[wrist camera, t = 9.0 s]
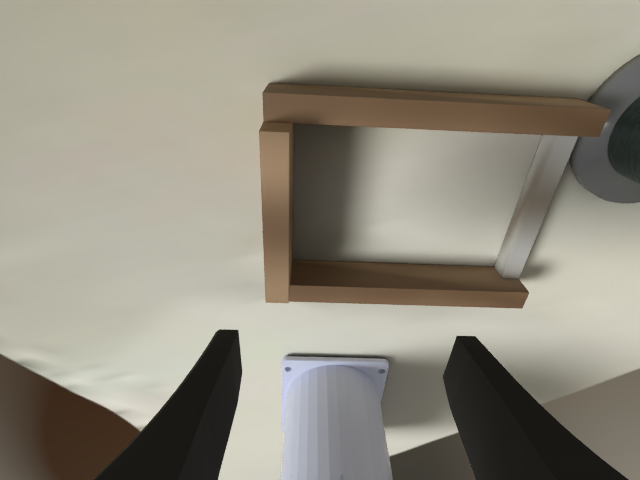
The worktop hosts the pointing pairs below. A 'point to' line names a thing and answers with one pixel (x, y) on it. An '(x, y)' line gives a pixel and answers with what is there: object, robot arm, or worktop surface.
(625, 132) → the tin can
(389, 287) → the frame
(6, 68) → the worktop surface
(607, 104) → the coaster
